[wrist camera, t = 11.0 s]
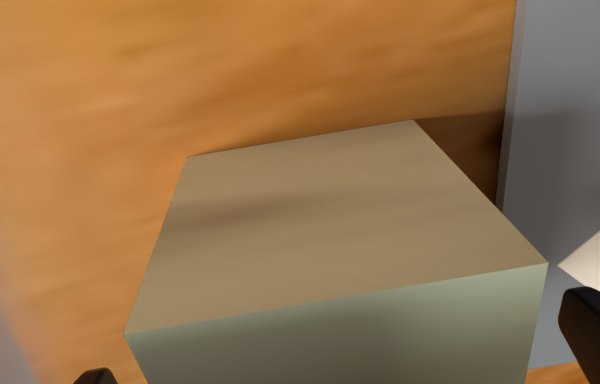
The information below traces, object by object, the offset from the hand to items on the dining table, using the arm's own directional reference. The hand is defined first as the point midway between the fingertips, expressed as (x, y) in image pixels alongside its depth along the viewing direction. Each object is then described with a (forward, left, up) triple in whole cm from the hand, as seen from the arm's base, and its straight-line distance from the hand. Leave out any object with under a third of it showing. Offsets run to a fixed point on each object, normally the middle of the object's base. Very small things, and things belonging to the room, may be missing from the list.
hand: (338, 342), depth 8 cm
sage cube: (0, 0, -4) cm, 4 cm away
